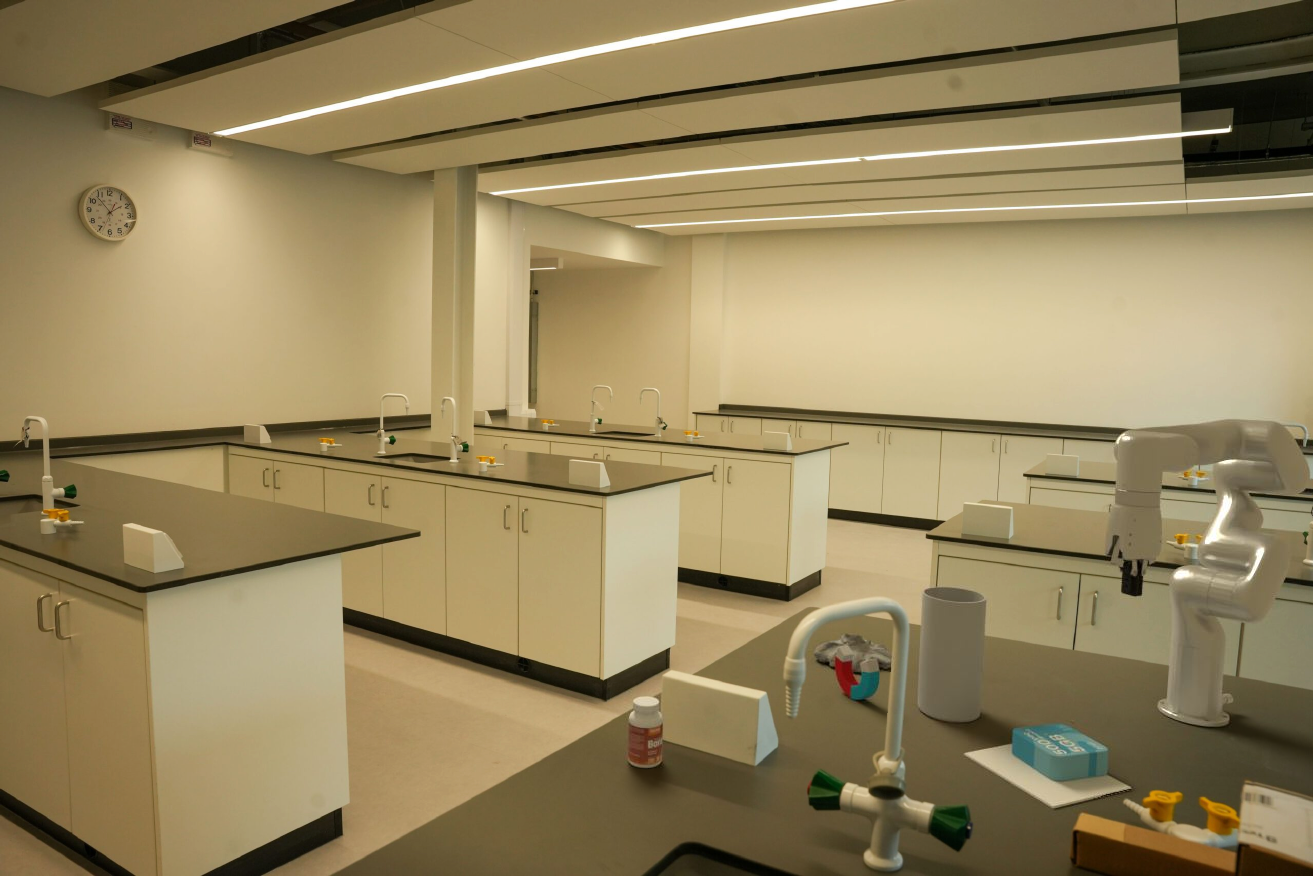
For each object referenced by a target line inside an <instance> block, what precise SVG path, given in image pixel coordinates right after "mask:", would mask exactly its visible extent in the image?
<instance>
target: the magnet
mask: <svg viewBox="0 0 1313 876" xmlns="http://www.w3.org/2000/svg"><path fill="white" fill-rule="evenodd" d="M853 656H854V653H853V652H852V650H851V649H850V647H849V646H848V645H846V646H840V647H838V649H837V652H836V656H835V667H834V671H835V675H836V679H837V683H838V684H839V686H840V688H841V690H842V691H843V692H844V694H845V695H846V696H848V697H849V698H850V699H853V700H856V701H857V700H865V699H869V698H871V697H873V696H874V695H875V694H876V692H877V690H878V688H879V685H880V677H881V676H880V668H879V665H878V661H877V659H871V660H866V661H864V662H862V663H860V666H861V672H860V675H861V679H860V682H859V681H858V680H857V679H856V677H855V675H854V672H853V671H852V659H853Z"/></svg>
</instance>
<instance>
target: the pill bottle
mask: <svg viewBox="0 0 1313 876" xmlns="http://www.w3.org/2000/svg"><path fill="white" fill-rule="evenodd" d="M632 709H633V711H631V712H630V714H629V717H628V731H627V734H628V739H627V740H628V741H627V759H628V762H629V764H631V766H634V767H637V768H641V769H648V768H649V769H650V768H654V767H657V766H659V765H660V764H661V762H662V761H663V740H664V739H663V736H664V735H663V734H664V733H663V732H664V717H663V715H662V713H661V712H660V701H659V699H658V698H656V697H653V696H648V695H647V696H646V695H645V696H638V697H635V698H634V699H633V700H632Z"/></svg>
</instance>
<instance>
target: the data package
mask: <svg viewBox="0 0 1313 876" xmlns="http://www.w3.org/2000/svg"><path fill="white" fill-rule="evenodd" d="M1011 740H1012V741H1011V744H1012V754H1013V755H1014V756H1016V757H1017V758H1019V759H1020V760H1022V761H1023V762H1025V763H1026V764H1028V765H1030V766H1031V767H1033V768H1034V769H1036V770H1037V771H1039V772H1040V773H1042V774H1043V775H1045V776H1046V777H1048V778H1049V779H1052V780H1055V781H1068V780H1075V779H1082V778H1090V777H1097V776H1104V775H1108V766H1109V749H1108V748H1107V747H1106V746H1105V745H1103V744H1101V743H1100V742H1097V741H1096V740H1095V739H1092V738H1090V737H1089V736H1087V735H1085V734H1083V733H1081V732H1079V731H1078V730H1076V729H1074V728H1072V727H1071V726H1069V725H1066V724H1064V723H1051V724H1041V725H1034V726H1033V725H1032V726H1024V727H1016V728H1013V730H1012V739H1011Z"/></svg>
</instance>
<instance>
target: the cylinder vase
mask: <svg viewBox="0 0 1313 876" xmlns="http://www.w3.org/2000/svg"><path fill="white" fill-rule="evenodd" d="M921 594H922V595H921V596H922V597H921V617H920V637H919V638H920V641H919V658H918V659H919V661H918V679H917V680H918V681H917V682H918V685H917V686H918V687H917V703H916V704H917V707H918V709H919V710H920V711H921V712H922V713H923V714H924V713H925V714H924V715H926V716H928V717H931V718H933V719H935V720H939V721H942V722H943V721H944V722H947V723H956V722H957V724H958V723H962V722H963V723H970V722H973V721H976V720H977V719H978V718H980V717H981V711H982V696H983V695H982V693H983V678H984V677H983V673H984V653H985V652H984V651H985V637H986V636H985V635H986V633H985V632H986V617H987V615H986V614H987V596H986V595H985V594H983V593H981V592H978V591H975V590H971V589H967V588H961V587H953V586H933V587H927V588H924V589H922V593H921Z"/></svg>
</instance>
